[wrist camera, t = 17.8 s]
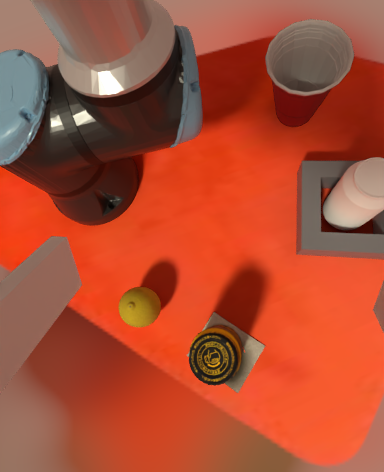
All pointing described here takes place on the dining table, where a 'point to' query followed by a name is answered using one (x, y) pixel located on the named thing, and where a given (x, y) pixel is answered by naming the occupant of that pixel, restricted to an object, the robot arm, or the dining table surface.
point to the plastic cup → (306, 67)
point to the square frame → (309, 216)
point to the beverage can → (356, 195)
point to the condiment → (223, 354)
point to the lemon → (139, 306)
